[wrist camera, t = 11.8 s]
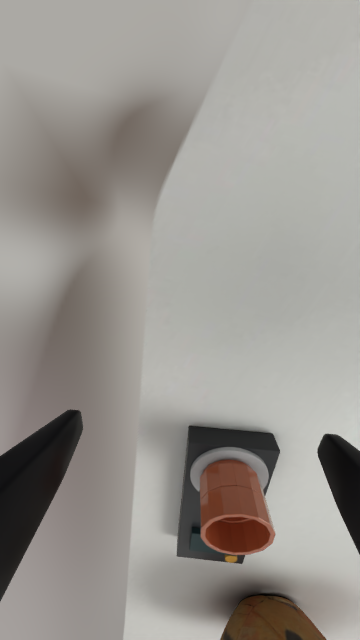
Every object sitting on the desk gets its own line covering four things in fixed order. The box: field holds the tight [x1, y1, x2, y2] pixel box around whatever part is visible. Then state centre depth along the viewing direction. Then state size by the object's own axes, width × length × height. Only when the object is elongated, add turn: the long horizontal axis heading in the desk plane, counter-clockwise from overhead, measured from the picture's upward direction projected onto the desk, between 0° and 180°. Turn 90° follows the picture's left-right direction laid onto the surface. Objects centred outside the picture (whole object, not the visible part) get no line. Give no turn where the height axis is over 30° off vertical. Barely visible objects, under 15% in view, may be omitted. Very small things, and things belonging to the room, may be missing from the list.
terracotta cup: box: [199, 460, 275, 555], centre depth 19 cm, size 6×6×4 cm
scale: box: [177, 426, 280, 564], centre depth 25 cm, size 22×9×3 cm, turn 177°
